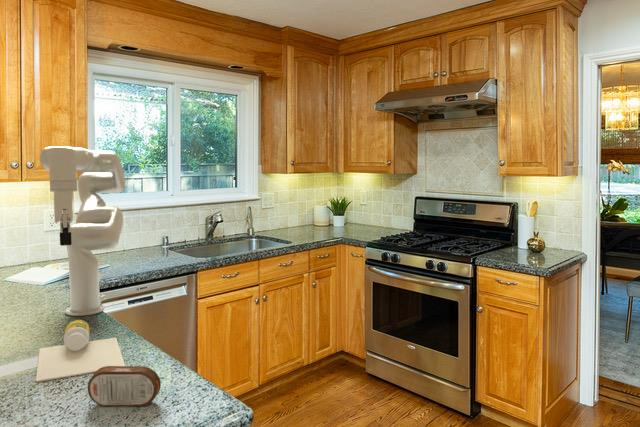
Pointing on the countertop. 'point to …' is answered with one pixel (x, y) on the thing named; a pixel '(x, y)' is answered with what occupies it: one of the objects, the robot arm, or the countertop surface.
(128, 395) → the tin
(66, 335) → the pill bottle
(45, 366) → the mat
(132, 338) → the countertop surface
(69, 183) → the robot arm
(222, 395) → the countertop surface
